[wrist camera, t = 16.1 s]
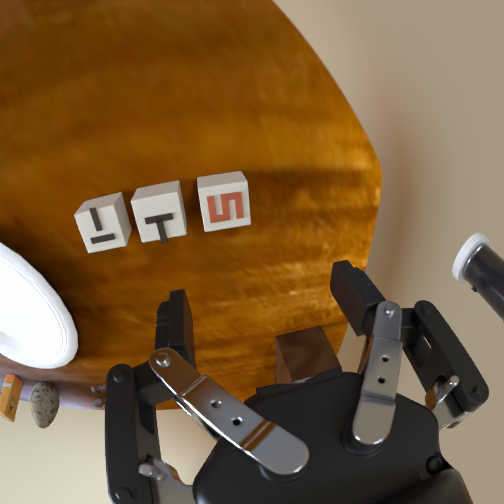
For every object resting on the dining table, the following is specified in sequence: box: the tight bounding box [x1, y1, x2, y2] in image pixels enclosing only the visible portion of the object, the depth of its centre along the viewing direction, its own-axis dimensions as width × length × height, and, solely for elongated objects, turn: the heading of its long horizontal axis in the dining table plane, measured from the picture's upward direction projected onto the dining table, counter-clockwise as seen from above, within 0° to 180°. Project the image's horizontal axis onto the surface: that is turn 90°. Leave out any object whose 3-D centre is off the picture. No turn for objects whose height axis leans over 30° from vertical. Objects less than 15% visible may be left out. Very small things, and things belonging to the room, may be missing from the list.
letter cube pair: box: [74, 180, 186, 253], centre depth 22 cm, size 10×4×3 cm, turn 93°
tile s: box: [197, 171, 251, 232], centre depth 23 cm, size 4×4×3 cm
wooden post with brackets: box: [91, 385, 106, 407], centre depth 37 cm, size 2×8×4 cm, turn 83°
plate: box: [0, 241, 78, 368], centre depth 24 cm, size 25×25×2 cm
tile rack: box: [275, 326, 342, 384], centre depth 39 cm, size 7×16×8 cm, turn 3°
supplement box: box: [0, 374, 23, 422], centre depth 30 cm, size 3×3×10 cm
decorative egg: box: [31, 381, 59, 428], centre depth 32 cm, size 6×6×10 cm
